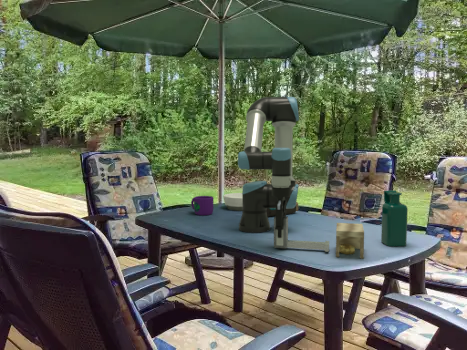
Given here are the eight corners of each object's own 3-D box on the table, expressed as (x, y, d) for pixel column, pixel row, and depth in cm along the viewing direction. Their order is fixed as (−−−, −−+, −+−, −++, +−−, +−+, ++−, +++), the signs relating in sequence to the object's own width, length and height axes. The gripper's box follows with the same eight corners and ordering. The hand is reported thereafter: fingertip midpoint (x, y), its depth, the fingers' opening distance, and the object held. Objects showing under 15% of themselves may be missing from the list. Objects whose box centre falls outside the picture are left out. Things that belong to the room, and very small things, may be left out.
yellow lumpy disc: (345, 255, 166) (345, 248, 166) (335, 250, 171) (336, 244, 171) (357, 254, 168) (358, 247, 168) (348, 249, 174) (348, 243, 173)
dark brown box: (300, 219, 250) (257, 218, 235) (293, 220, 256) (250, 219, 240) (300, 200, 252) (257, 198, 237) (292, 201, 258) (250, 199, 242)
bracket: (273, 248, 173) (273, 218, 172) (276, 244, 180) (276, 215, 179) (328, 251, 168) (329, 221, 167) (329, 247, 175) (329, 217, 173)
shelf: (335, 256, 164) (336, 230, 163) (336, 246, 178) (336, 222, 177) (363, 258, 161) (364, 232, 160) (361, 248, 176) (362, 223, 175)
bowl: (247, 213, 255) (247, 199, 254) (216, 209, 268) (216, 196, 267) (266, 207, 274) (266, 194, 273) (236, 204, 286) (236, 191, 285)
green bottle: (408, 246, 178) (410, 193, 176) (388, 246, 177) (389, 193, 175) (397, 240, 188) (398, 190, 186) (378, 241, 187) (379, 190, 185)
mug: (217, 214, 252) (217, 197, 251) (202, 216, 244) (202, 199, 243) (199, 210, 264) (198, 194, 264) (183, 212, 257) (183, 196, 256)
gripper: (287, 189, 164) (287, 249, 166) (293, 184, 181) (292, 238, 184) (268, 188, 166) (267, 248, 168) (275, 183, 183) (275, 237, 185)
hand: (280, 243), depth 176 cm, fingers closed on bracket, 5 cm apart
